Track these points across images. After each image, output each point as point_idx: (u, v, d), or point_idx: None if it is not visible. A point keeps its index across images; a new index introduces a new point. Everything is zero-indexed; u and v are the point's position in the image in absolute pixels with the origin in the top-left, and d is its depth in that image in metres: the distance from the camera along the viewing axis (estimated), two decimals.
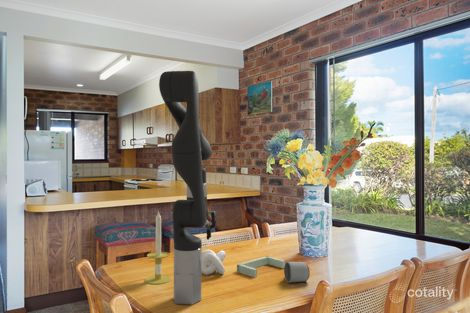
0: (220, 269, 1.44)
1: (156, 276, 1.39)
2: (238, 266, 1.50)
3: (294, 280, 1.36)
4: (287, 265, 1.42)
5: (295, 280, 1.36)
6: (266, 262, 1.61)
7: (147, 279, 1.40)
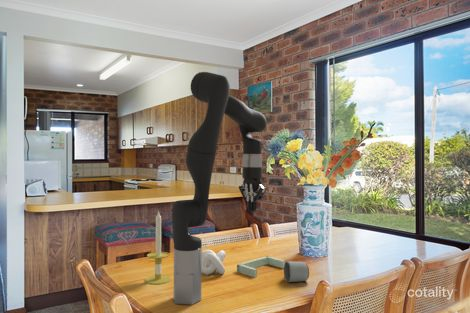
0: (220, 269, 1.44)
1: (156, 276, 1.39)
2: (238, 266, 1.50)
3: (294, 280, 1.37)
4: (287, 265, 1.42)
5: (295, 280, 1.37)
6: (266, 262, 1.61)
7: (147, 279, 1.40)
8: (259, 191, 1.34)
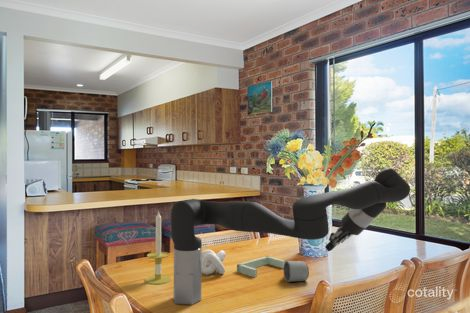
0: (220, 269, 1.44)
1: (156, 276, 1.39)
2: (238, 266, 1.50)
3: (293, 279, 1.37)
4: (286, 264, 1.43)
5: (294, 279, 1.37)
6: (266, 262, 1.61)
7: (147, 279, 1.40)
8: None
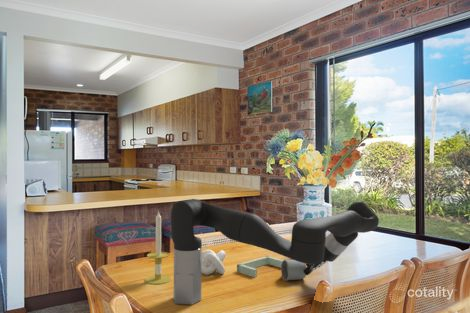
0: (220, 269, 1.44)
1: (156, 276, 1.39)
2: (238, 266, 1.50)
3: (291, 278, 1.39)
4: (284, 263, 1.44)
5: (292, 278, 1.39)
6: (266, 262, 1.61)
7: (147, 279, 1.40)
8: None
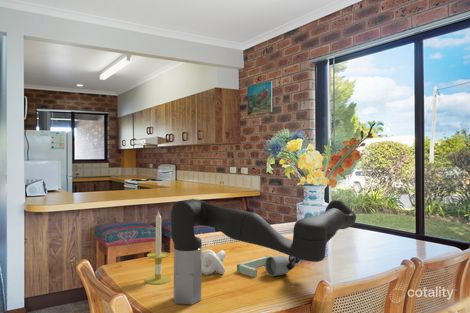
0: (220, 269, 1.44)
1: (156, 276, 1.39)
2: (238, 266, 1.50)
3: (278, 273, 1.44)
4: (268, 260, 1.49)
5: (279, 273, 1.44)
6: None
7: (147, 279, 1.40)
8: None
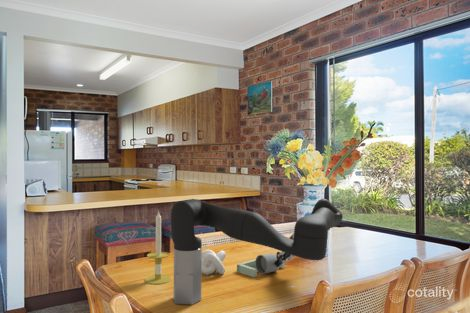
0: (220, 269, 1.44)
1: (156, 276, 1.39)
2: (238, 266, 1.50)
3: (268, 271, 1.47)
4: (258, 258, 1.52)
5: (269, 271, 1.47)
6: None
7: (147, 279, 1.40)
8: None
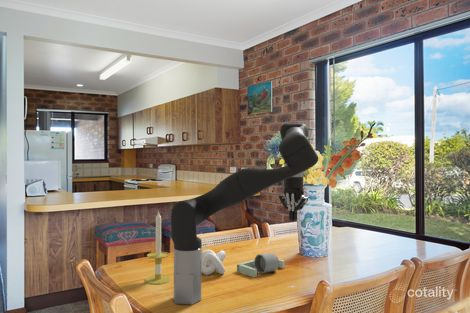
0: (220, 269, 1.44)
1: (156, 276, 1.39)
2: (238, 266, 1.50)
3: (267, 270, 1.48)
4: (257, 258, 1.52)
5: (268, 270, 1.48)
6: None
7: (147, 279, 1.40)
8: (301, 201, 1.34)
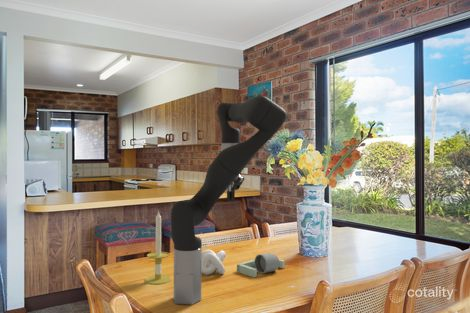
0: (220, 269, 1.44)
1: (156, 276, 1.39)
2: (238, 266, 1.50)
3: (267, 270, 1.48)
4: (257, 258, 1.52)
5: (268, 270, 1.48)
6: None
7: (147, 279, 1.40)
8: (237, 181, 1.34)
